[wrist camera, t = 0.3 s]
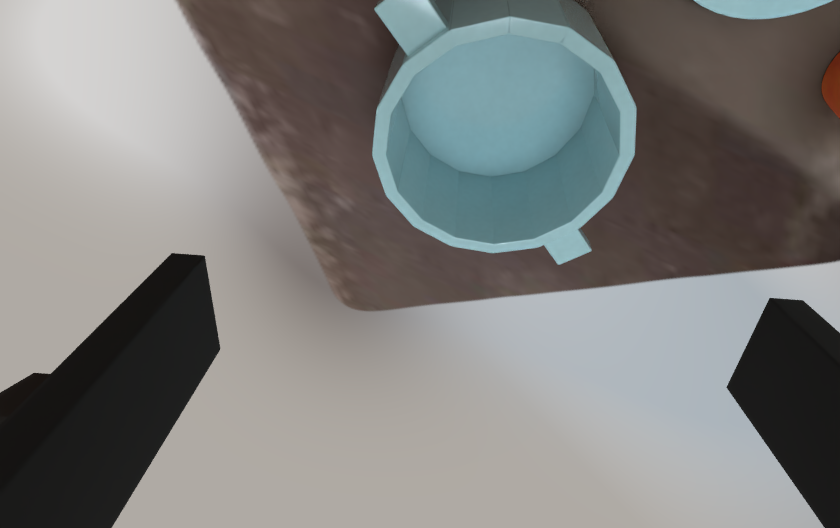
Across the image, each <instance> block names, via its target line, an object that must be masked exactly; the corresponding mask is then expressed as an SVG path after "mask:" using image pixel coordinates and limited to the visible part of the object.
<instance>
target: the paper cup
mask: <svg viewBox="0 0 840 528" xmlns="http://www.w3.org/2000/svg"><path fill="white" fill-rule="evenodd" d="M822 95H823V98H824V100H825V101H826V103H827V104H828V106H829V107H830V108H831V109H832V111H833V112H834V113H835V114H836V115H837V116H838V117H839V119H840V52H839V53H838V54H837V55H836V57H835V58H834V59H833V60H832V62H831V63H830V65H829V66H828V68H827V70H826V72H825V74H824V77H823V81H822Z"/></svg>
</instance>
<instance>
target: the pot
mask: <svg viewBox="0 0 840 528" xmlns="http://www.w3.org/2000/svg"><path fill="white" fill-rule="evenodd" d="M374 10H375V11H376V13H377V14H378V16H379V17H380V18H381V20H382V21H383V23H384V24H385V25H386V27H387V28H388V29H389V31H390V32H391V34H392V35H393V36H394V38H395V39H396V41H397V42H398V43H399V47H398V49H397V50H396V52H395V54H394V57H393V60H392V63H391V66H390V69H389V72H388V76H387V79H386V82H385V85H384V88H383V91H382V94H381V97H380V100H379V103H378V106H377V109H376V118H375V128H374V139H373V149H372V157H373V159H374V162H375V165H376V168H377V171H378V174H379V177H380V180H381V183H382V186H383V188H384V191H385V194H386V196H387V197H388V198H389V200H390V201H391V202H392V203H393V204H394V205H395V206H396V207H397V208H398V210H399V211H400V212H401V213H402V214H403V215H404V216H405V217H406V218H407V220H408V221H409V222H410V223H411V224H412V225H413V226H414V227H416V228H417V229H419V230H421V231H423V232H425V233H427V234H429V235H431V236H433V237H435V238H436V239H438V240H440V241H442V242H444V243H446V244H448V245H450V246H453V247H459V248H465V249H471V250H477V251H483V252H488V253H493V252H494V253H499V252H507V251H515V250H523V249H530V248H537V247H540V246H542V245H544V246H545V247H546V249H547V250H548V252H549V253H550V254H551V256H552V257H553V258H554V260H555V261H556V263H557V264H558V265H560V264H562V263H565V262H567V261H570V260H572V259H574V258H577V257H579V256H581V255H584V254H586V253H588V252H591V246H590V242H589V240H588V239H587V237H586V236H585V234H584V233H583V231H582V230H581V227H582V226H583V225H584V224H585V223H586V222H587V221H588V220H589V219H590V218H592V217H593V216H594V215H595V214H596V213H597V212H598V211H599V210H600V209H601V208H603V207H604V206H605V205H606V204H607V203H608V202H609V201H610V200H611V199H612V198H613V197H614V195H615V193H616V191H617V189H618V187H619V185H620V183H621V181H622V179H623V177H624V175H625V173H626V171H627V169H628V167H629V165H630V163H631V161H632V159H633V157H634V155H635V136H636V111H637V108H636V104H635V102H634V100H633V98H632V96H631V94H630V92H629V90H628V88H627V85H626V83H625V81H624V79H623V77H622V75H621V73H620V71H619V69H618V66H617V64H616V62H615V60H614V59H613V57H612V55H611V53H610V51H609V49H608V48H607V46H606V44H605V42H604V40H603V38H602V37H601V35H600V33H599V31H598V29H597V27H596V26H595V24H594V22H593V20H592V18H591V16H590V15H589V13H588V12H587V10H586V9H584V8H583V7H582V6H580V5H579V4H578V3H577V2H576V1H575V0H380V1H379V2H378V3H377V4H376V6H375V8H374Z"/></svg>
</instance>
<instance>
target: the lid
mask: <svg viewBox="0 0 840 528" xmlns="http://www.w3.org/2000/svg"><path fill="white" fill-rule="evenodd" d="M694 1H695V2H696V3H698V4H699V5H701V6H702V7H705V8H707V9H709V10H711V11H713V12H715V13H718V14H722V15H725V16H729V17H734V18H742V19H770V18H777V17H784V16H789V15H793V14H797V13H800V12H804V11H808V10H810V9H813V8H816V7H818V6H821V5H824V4H826V3H829V2H831V1H833V0H694Z"/></svg>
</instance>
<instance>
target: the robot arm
mask: <svg viewBox="0 0 840 528" xmlns="http://www.w3.org/2000/svg"><path fill="white" fill-rule="evenodd" d="M219 350H220V344H219V339H218V332H217V326H216V321H215V314H214V309H213V303H212V297H211V291H210V285H209V279H208V273H207V267H206V261H205V256H201V255H188V254H175V253H172V254H171V255H170V256H169V257H168V258H167V259H166V260H165V261H164V262H163V263H162V264H161V265H160V266H159V267H158V268H157V269H156V270H155V271H154V272H153V273H152V274H151V275H150V276H149V277H148V278H147V279H146V280H145V281H144V282H143V283H142V284H141V285H140V286H139V287H138V288H137V289H136V290H135V291H134V292H133V293H132V294H131V295H130V296H129V297H128V298H127V299H126V300H125V301H124V302H123V303H122V304H120V305H119V307H118V308H117V309H115V310H114V311H113V312H112V313H111V314H110V316H108V317H107V319H106V320H104V322H103V323H101V325H99V326H98V327H97V328H96V329H95V330H94V332H93V333H91V335H90V336H88V338H86V339H85V340H84V341H83V342H82V343H81V344H80V345H79V346H78V347H77V348H76V350H75V351H73V352H72V353H71V355H69V356H68V357H67V359H65V360H64V361H63V362H62V363H61V365H59V366H58V368H56V369H55V370H54V371H53V372H52V373H51V374H41V373H33V374H31V375H30V376H28V377H26V378H25V379H23V380H21V381H19V382H18V383H16V384H14V385H13V386H11V387H9V388H8V389H6V390H4V391H2V392H1V393H0V528H112V526H113V524H114V523H115V521H116V520H117V518H118V516H119V515H120V513H121V511H122V510H123V508H124V506H125V505H126V503H127V502H128V500H129V498H130V497H131V495H132V493H133V492H134V490H135V488H136V487H137V485H138V483H139V482H140V480H141V478H142V477H143V475H144V474H145V472H146V470H147V469H148V467H149V465H150V464H151V462H152V460H153V459H154V457H155V456H156V454H157V452H158V450H159V449H160V447H161V446H162V444H163V442H164V441H165V439H166V437H167V436H168V434H169V433H170V431H171V429H172V427H173V426H174V424H175V423H176V421H177V419H178V418H179V416H180V414H181V413H182V411H183V410H184V408H185V406H186V405H187V403H188V401H189V400H190V398H191V396H192V395H193V393H194V391H195V390H196V388H197V386H198V385H199V383H200V381H201V380H202V378H203V377H204V375H205V373H206V372H207V370H208V368H209V367H210V365H211V364H212V362H213V360H214V358H215V357H216V355H217V354H218V352H219ZM727 388H728V390H729V391H730V393H731V394H732V396H733V397H734V399H735V400H736V402H737V403H738V404H739V406H740V407H741V409H742V410H743V412H744V413H745V414H746V416H747V417H748V419H749V420H750V421H751V423H752V424H753V426H754V427H755V429H756V430H757V432H758V433H759V434H760V436H761V437H762V439H763V440H764V442H765V443H766V444H767V446H768V447H769V449H770V450H771V451H772V453H773V454H774V456H775V457H776V459H777V460H778V462H779V463H780V464H781V466H782V467H783V468H784V470H785V472H786V473H787V474H788V476H789V477H790V479H791V480H792V482H793V483H794V484H795V486H796V487H797V489H798V490H799V492H800V493H801V494H802V496H803V497H804V499H805V500H806V502H807V503H808V505H809V506H810V507H811V509H812V510H813V512H814V513H815V514H816V516H817V517H818V519H819V520H820V522H821V523H822V524H823V526H824V527H825V528H840V333H839V332H838V331H837V330H835V328H833V327H832V326H831V325H830V324H829V323H828V322H827V321H825V320H824V319H823V318H822V317H821V316H820V315H819V314H817V313H816V312H815V311H814V310H813V309H812V308H811V307H810V306H809V305H807V304H806V303H805V302H804V301H802V300H789V299H776V298H775V299H774V298H770V299H769V301H768V303H767V305H766V307H765V309H764V311H763V313H762V315H761V317H760V319H759V321H758V323H757V325H756V328H755V330H754V332H753V334H752V336H751V338H750V340H749V342H748V344H747V346H746V349H745V350H744V352H743V354H742V357H741V359H740V361H739V363H738V365H737V367H736V369H735V371H734V373H733V375H732V377H731V379H730V381H729V383H728V386H727Z"/></svg>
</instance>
